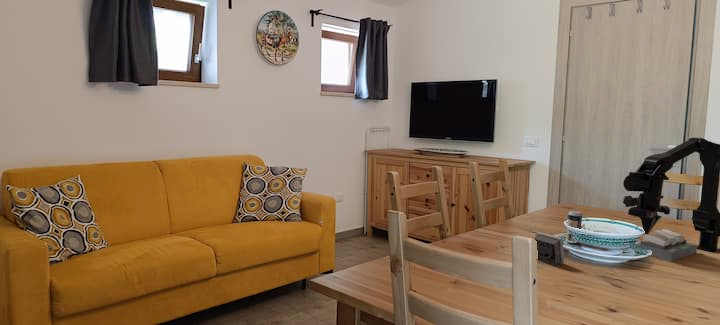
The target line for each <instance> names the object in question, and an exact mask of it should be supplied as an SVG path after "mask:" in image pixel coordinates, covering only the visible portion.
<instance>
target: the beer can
mask: <svg viewBox="0 0 720 325" xmlns="http://www.w3.org/2000/svg"><path fill="white" fill-rule="evenodd" d="M582 220H583V214H582V212H581V211H579V210H570V211H569V212H568V213H567V225H568V226H571V227H574V228H579V229H581V230H582V222H583V221H582ZM567 225H566V226H567ZM566 240H568V241H573V242H575V240H574V239H573V237H572V236H571V234H570V232H569V230H568V228H567V227H566V236H565V241H566Z"/></svg>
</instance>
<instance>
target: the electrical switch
mask: <svg viewBox="0 0 720 325" xmlns="http://www.w3.org/2000/svg"><path fill="white" fill-rule="evenodd" d="M533 239H535V240H536V241H537V250H538V260H537V261H540V262H544V263H547V264H551V265H554V266H557V265H559V264H560V265H563V264H564V263H565V253H564V240H563V238H562V237H559V236H555V235H553V234H547V233H544V232H540V231H538V232H535V237H533V238H532V240H533Z"/></svg>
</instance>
